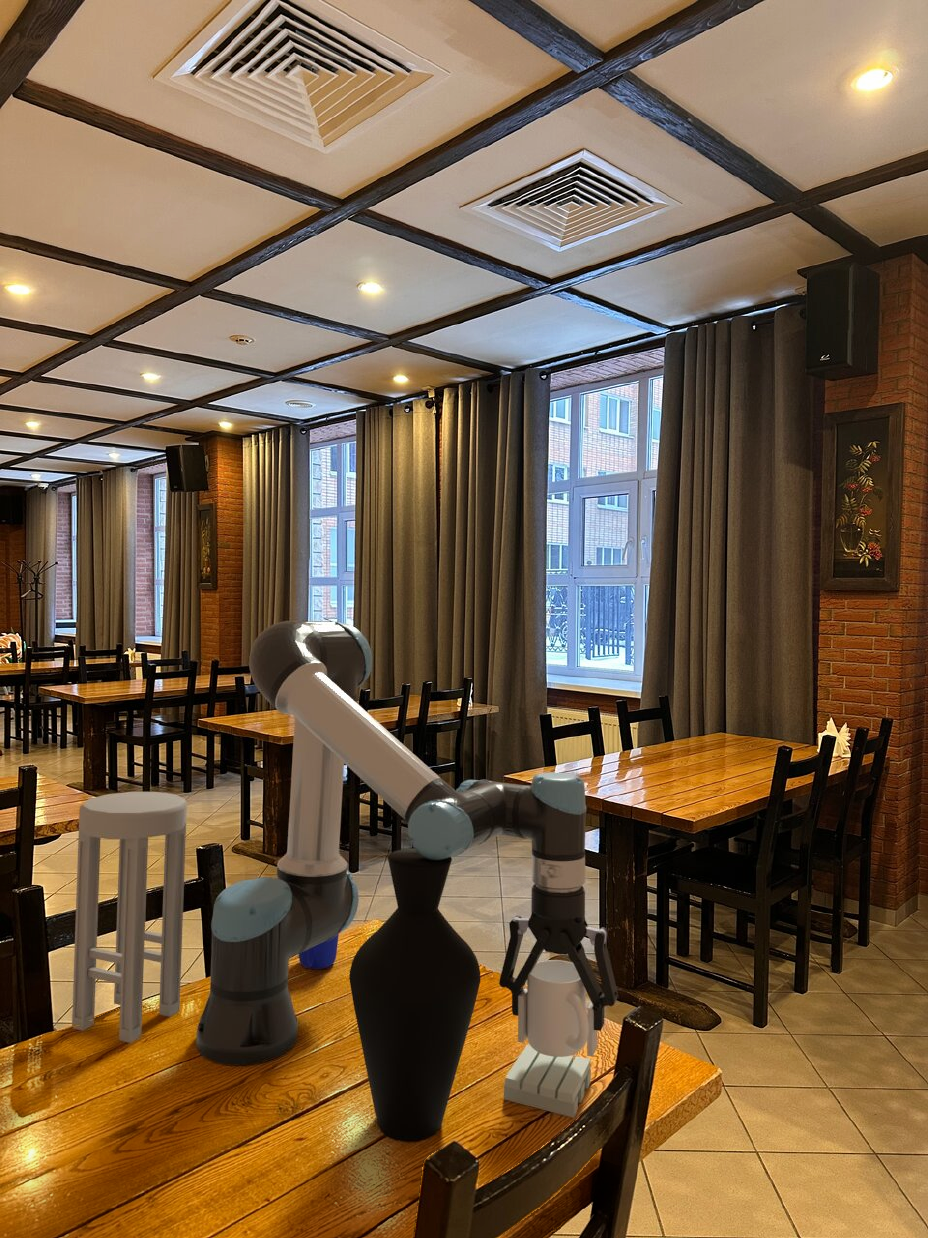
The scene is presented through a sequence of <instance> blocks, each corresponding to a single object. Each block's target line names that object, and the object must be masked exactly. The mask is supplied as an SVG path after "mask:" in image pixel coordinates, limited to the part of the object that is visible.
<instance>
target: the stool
mask: <svg viewBox="0 0 928 1238" xmlns="http://www.w3.org/2000/svg"><path fill="white" fill-rule="evenodd" d="M187 809H188V803H187V800H186V799H185V798H184V797H182V796H179V795H177V794H175V793H174V794H173V793H167V792H160V791H126V792H118V793H117V792H116V793H108V794H103V795H100V796H95V797H91V798H88V799H87V800H86V801H85V802H84V803H83V804H81V805H80V807H79V812H78V835H77V836H78V838H77V839H78V841H77V842H78V843H77V845H78V846H77V865H76V866H77V868H76V869H77V870H76V871H77V872H76V899H75V900H76V901H75V926H74V929H75V930H74V931H75V932H74V955H73V956H74V957H73V960H74V961H73V984H72V987H73V989H72V1012H71V1013H72V1014H71V1028H72V1027H73V1026H76V1025H79V1026H76V1027H73V1028H72V1029H75V1030H77V1031H78V1030H79V1031H82V1032H83V1031H85V1030H87V1029H88V1028H90V1027H92V1026H93V1025H94V1026H95V1007H96V1004H95V1003H96V981H97V980H100V981H104V982H109V983H114V989H113V990H114V992H113V995H114V996H113V1004H115V1005H118V1006H119V1027H118V1028H119V1029H118V1030H119V1032H118V1040H119V1041H121V1042H125V1043H128V1044H132V1043H133V1042H134V1041H136V1040H138V1039H140V1038H141V1037H142V1026H143V1025H142V1024H143V1023H142V1022H143V1019H142V1018H143V994H144V989H143V988H144V967H145V966H144V961H145V960H148V961H152V962H157V963H160V975H159V976H160V978H159V979H160V980H159V1005H158V1006H159V1008H158V1015H161V1016H164V1017H168V1018H170V1017H173V1016H174V1015H175V1014H177V1013H178V1012H180V1010H181V1009H180V1005H181V1004H180V1003H181V982H182V981H181V980H182V979H181V976H182V975H181V974H182V952H183V951H182V948H183V919H184V895H185V894H184V892H185V891H184V890H185V865H186V864H185V863H186V835H187V834H186V833H187ZM160 836H165V837H164V838H165V839H164V862H163V863H164V868H163V869H164V870H163V891H162V893H163V894H162V896H163V897H162V917H161V918H162V922H161V923H162V924H161V933H159V932H154V931H148V930H146V911H147V910H146V906H147V882H148V881H147V879H148V856H149V855H148V854H149V853H148V851H149V849H148V848H149V838H154V837H160ZM101 839H104V840H105V839H106V840H119V843H118V844H119V847H118V848H119V849H118V850H119V851H118V871H117V872H118V876H117V877H118V878H117V879H118V880H117V899H116V900H117V904H116V905H117V906H116V931H115V934H116V935H115V936H116V937H115V951H113V950H112V951H110V950H107V949H103V948H102V949H101V948H97V947H98V946H97V945H98V921H99V920H98V919H99V891H100V889H99V888H100V887H99V886H100V864H101V863H100V862H101V861H100V860H101ZM145 941H146V942H150V943H156V944H161V945H160V946H161V950H160V951H161V952H159V951H156V950H151V949H145ZM97 960H101V961H105V962H108V963H109V962H110V963H113V964H115V965H114V971H111V970H107V969H102V968H99V967H97ZM92 1019H94V1020H92ZM89 1020H92V1021H89Z"/></svg>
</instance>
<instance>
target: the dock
mask: <svg viewBox="0 0 928 1238" xmlns="http://www.w3.org/2000/svg"><path fill="white" fill-rule="evenodd" d="M574 1055H575V1054H574ZM574 1055H571V1056H566V1057H553V1056H547V1055H544V1054H541V1053H539V1052H537V1051H535V1050H534V1049H533V1048H532V1047H531V1046H530V1044H529V1043H528V1044H526V1046H525V1047H524V1048H523V1049H522V1052H521V1053H520V1054H519V1056H518V1057H517V1059H516V1061H515V1062H514V1064H513V1065H512V1067H511V1068H510V1070H509V1071H508V1072H507V1074H506V1075H505V1077H504V1085H503V1100H505V1101H508V1102H513V1103H517V1104H519V1105H520V1104H521V1105H525V1106H529V1107H532V1108H535V1109H539V1110H543V1111H546V1112H551V1113H554V1114H558V1115H561V1116H565V1117H568V1118H569V1117H570V1118H572V1119H574V1118H575V1117H576V1115H577V1113H578V1106H579V1105H578V1104H581V1103H582V1101H583V1099H584V1097H585V1090H588V1089H589V1087H590V1085H591V1082H592V1080H591V1079H592V1078H591V1077H592V1069H591V1059H590V1058H587V1057H582V1056H575V1057H574Z"/></svg>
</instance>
